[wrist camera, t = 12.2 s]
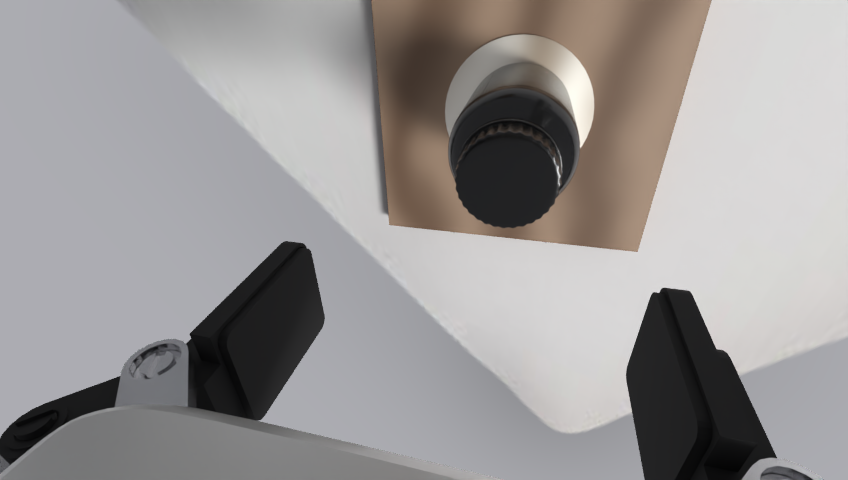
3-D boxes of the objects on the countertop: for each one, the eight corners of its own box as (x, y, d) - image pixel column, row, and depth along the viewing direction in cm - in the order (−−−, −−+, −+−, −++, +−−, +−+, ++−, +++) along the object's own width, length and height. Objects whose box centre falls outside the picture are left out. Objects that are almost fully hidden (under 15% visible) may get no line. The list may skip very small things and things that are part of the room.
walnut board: (723, -73, 22) (734, -76, 21) (634, 241, 33) (637, 253, 32) (375, -54, 27) (365, -56, 26) (394, 216, 37) (388, 226, 36)
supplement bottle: (524, 178, 31) (512, 272, 21) (451, 122, 30) (402, 192, 20) (596, 103, 27) (622, 175, 17) (514, 35, 26) (491, 70, 16)
